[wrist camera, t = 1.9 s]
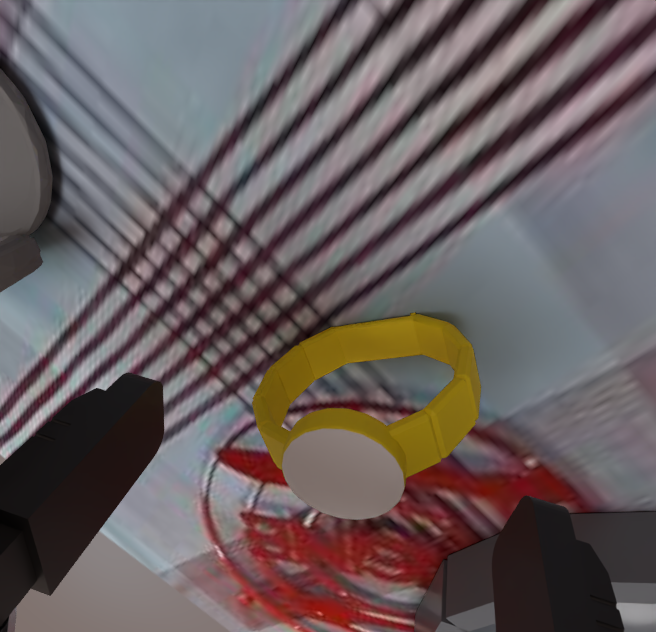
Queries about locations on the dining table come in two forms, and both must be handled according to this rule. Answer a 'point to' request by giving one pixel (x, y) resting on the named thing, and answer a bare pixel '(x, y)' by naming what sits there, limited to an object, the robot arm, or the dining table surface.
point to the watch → (365, 416)
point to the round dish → (596, 529)
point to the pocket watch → (20, 185)
